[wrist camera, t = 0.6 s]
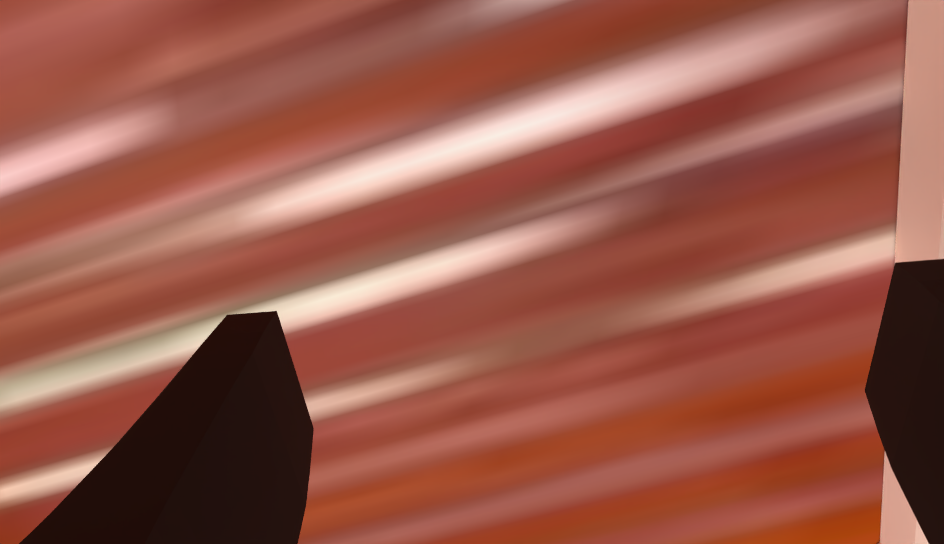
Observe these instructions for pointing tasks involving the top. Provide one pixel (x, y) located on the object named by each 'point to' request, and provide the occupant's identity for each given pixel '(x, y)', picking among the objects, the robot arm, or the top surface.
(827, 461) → the top surface
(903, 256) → the rack
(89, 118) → the top surface
